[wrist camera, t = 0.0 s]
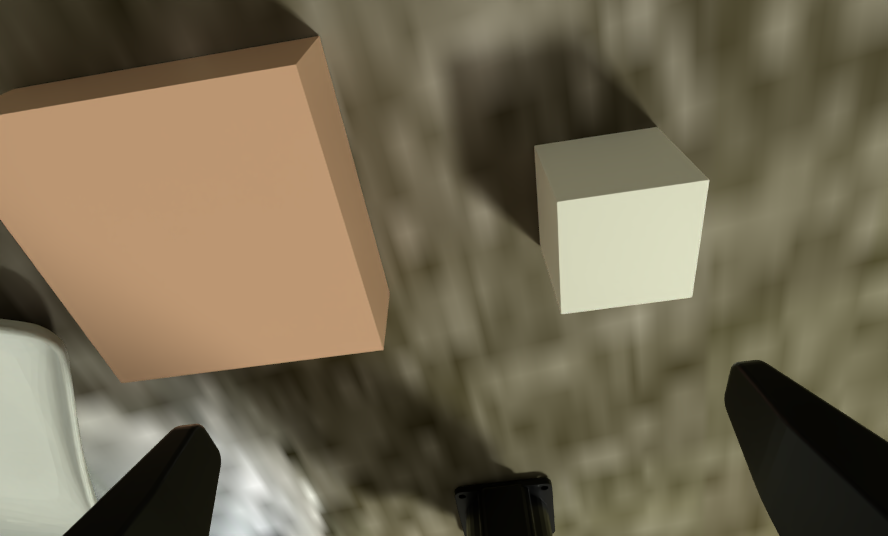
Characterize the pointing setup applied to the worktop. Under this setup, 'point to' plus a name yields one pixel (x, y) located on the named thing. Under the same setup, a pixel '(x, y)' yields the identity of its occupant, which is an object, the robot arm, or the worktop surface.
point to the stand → (197, 211)
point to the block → (619, 219)
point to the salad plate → (39, 435)
